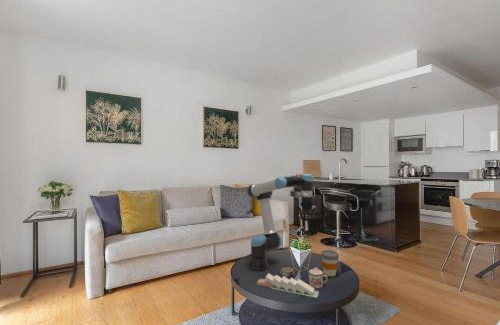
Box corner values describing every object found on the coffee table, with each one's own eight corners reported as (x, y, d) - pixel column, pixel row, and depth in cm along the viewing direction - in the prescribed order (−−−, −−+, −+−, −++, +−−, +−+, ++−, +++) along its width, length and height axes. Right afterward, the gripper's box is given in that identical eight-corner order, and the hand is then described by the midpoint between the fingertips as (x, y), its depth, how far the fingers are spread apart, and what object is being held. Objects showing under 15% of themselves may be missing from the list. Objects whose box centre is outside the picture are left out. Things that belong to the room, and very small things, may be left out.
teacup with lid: (309, 288, 171) (309, 270, 171) (308, 281, 180) (308, 264, 180) (328, 289, 169) (328, 271, 169) (326, 283, 178) (326, 266, 178)
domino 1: (272, 287, 170) (257, 285, 175) (275, 283, 175) (260, 281, 180) (272, 284, 170) (257, 282, 175) (275, 280, 176) (260, 278, 180)
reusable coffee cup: (335, 269, 199) (335, 250, 199) (341, 277, 187) (341, 256, 187) (318, 270, 199) (318, 250, 199) (323, 277, 187) (323, 256, 186)
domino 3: (287, 290, 167) (272, 280, 170) (289, 286, 172) (275, 277, 176) (288, 288, 166) (273, 278, 170) (291, 284, 171) (276, 274, 175)
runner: (269, 288, 170) (269, 287, 170) (273, 283, 177) (273, 282, 177) (317, 298, 158) (317, 297, 158) (319, 292, 166) (319, 291, 166)
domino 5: (303, 293, 163) (287, 283, 166) (305, 289, 168) (289, 280, 172) (304, 291, 162) (288, 281, 166) (306, 287, 167) (291, 277, 171)
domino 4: (295, 292, 165) (279, 282, 168) (297, 288, 170) (282, 278, 174) (296, 289, 164) (281, 279, 168) (298, 285, 169) (283, 276, 173)
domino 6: (311, 295, 161) (295, 285, 165) (313, 291, 166) (297, 281, 170) (313, 292, 160) (296, 282, 164) (314, 288, 165) (298, 278, 169)
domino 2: (279, 288, 169) (264, 279, 172) (282, 284, 174) (267, 275, 178) (280, 286, 168) (265, 276, 172) (283, 282, 173) (268, 273, 177)
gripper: (296, 196, 182) (296, 230, 182) (315, 197, 177) (315, 232, 177) (298, 195, 189) (298, 227, 189) (317, 196, 184) (317, 229, 184)
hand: (306, 230), depth 183 cm, fingers closed
